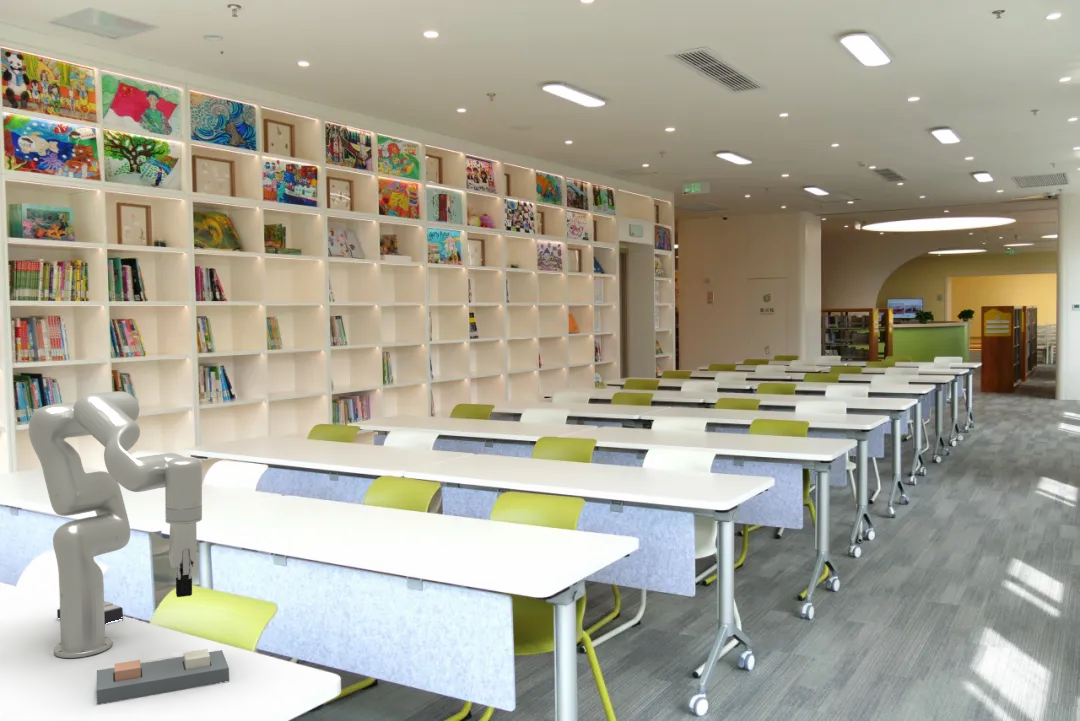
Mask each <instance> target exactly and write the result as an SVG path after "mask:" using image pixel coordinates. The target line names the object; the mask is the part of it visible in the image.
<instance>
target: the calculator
mask: <svg viewBox="0 0 1080 721" xmlns="http://www.w3.org/2000/svg"><path fill="white" fill-rule="evenodd" d="M56 611H57V614H56V616H57V619H58V618H60V608H58V609H56ZM104 617H105V624H106V623H108V622H111V621H115V620H119V619H123V620H124V611H123V607H121V606H120V605H116V604H114V603H112V602H111V601H110V602H109V601H106V600H104ZM121 617H123V618H121Z"/></svg>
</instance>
